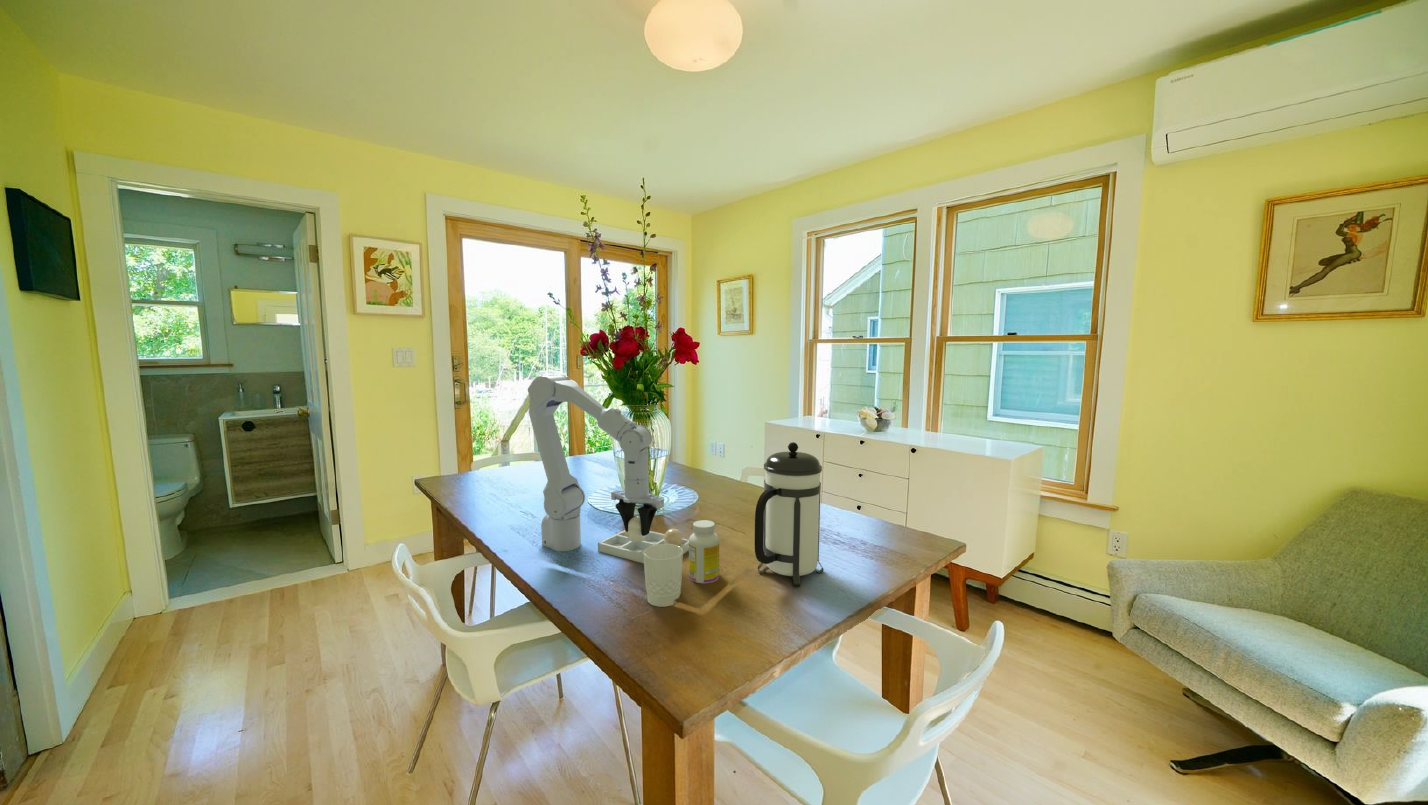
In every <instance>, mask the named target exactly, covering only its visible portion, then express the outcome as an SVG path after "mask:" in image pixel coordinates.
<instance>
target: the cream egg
mask: <svg viewBox="0 0 1428 805" xmlns="http://www.w3.org/2000/svg"><path fill="white" fill-rule="evenodd" d="M646 538H647V535H645V536H642V533H641V521H640V516H639V515H634V517H633V518H631V519H630V521H629V523H628V540H630V541H633V542H640V541H644V540H646Z"/></svg>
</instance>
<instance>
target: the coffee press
mask: <svg viewBox="0 0 1428 805" xmlns="http://www.w3.org/2000/svg"><path fill="white" fill-rule="evenodd" d="M787 449H788V451H781V452H776V453H773V454H771V455H769V456H768V457H767V459H766V461H765V463H764V464H763V470H764V471H765V474H764V476H765V479H764V481H763V482H764V483H763V484H764V485H763V486H764V488H763V490H764V491H762V493H761V495H760V496H759V497H758V500H757V502H756V504H755V505H756V506H755V512H754V554H755V555H754V556H755V557H756V560H757V561H758V562H759V564H758V566H757V571H758V573H759V574H765V572H766V571H768V570H770V571H772V572H774V573H776V574H778V575H782V576H787V577H791V582H792V587H798V588H799V587H800V586H801V583H800V582H801V581H800V576H806V575H809V574H811V573H813V572H814V571H816V573H818V574H822V573H824V568H823V566H822V564H821V563H820V558H819V557H820V554H819V553H820V552H819V551H820V524H821V523H820V522H821V519H820V518H821V489H822V486H821V484H822V482H821V473H822V472H823V466H822V465H821V463H820V460H819V459H818V458H817V457H816V456H814V455H812V454H809V453H806V452H803V451H802V452H801V451H798V449H799V445H798V444H797V443H796V442H794V441H792V442H790V443H789V444H788V446H787ZM818 564H819V565H820V567H821V569H820V570H819V569H817V567H818ZM763 565H765V567H764V568H763V569H762V570H760V569H761V567H763Z"/></svg>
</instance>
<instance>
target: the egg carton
mask: <svg viewBox="0 0 1428 805" xmlns="http://www.w3.org/2000/svg"><path fill="white" fill-rule="evenodd" d="M664 535H665V533H662V532H661V533H660V532H656V531H652V530H650V532H649V534H647V538H646V540H644V541H640V542H633V541H630V540H628V537H626V536H625V529H624V530H623V531H622V530H621V531H620V532H618V533H616V534H614V535H611V536H610V537H608V538H607V537H606V538H605V539H604V540H601V541H599V542H597V551H598V552H600V553H604V554H608V555H612V556H615V557H619V558H622V559H626V560H630V561H633V562H637V563H641V564H644V553H643V552H644V550H645V549H646V548H648V547H650V546H653V545H657V544H664ZM680 547H681V548H682V549H683V555H684V554H686V553H688V552H689V539H687V538H683V537H682V545H681V546H680Z"/></svg>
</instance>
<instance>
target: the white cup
mask: <svg viewBox="0 0 1428 805" xmlns="http://www.w3.org/2000/svg"><path fill="white" fill-rule="evenodd" d="M643 553H644V563H643V566H644V567H643V569H644V572H643V573H644V582H645V589H646V599H647V600H646V601H647V603H648V604H650V605H651V606H655V607H659V608H660V607H661V608H663V607H664V608H665V607H670V606H673V605H676V604H677V603H679V601H678V600H677V599H679V598H680V595H681V594H682V592H681V591H682V590H681V588H682V582H683V581H682V577H683V561H684V559H683V558H684V554H683V549H682V548H681V547H679V546H677V545H673V544H657V545H653V546H650V547H648V548H646V549H645V550H644V552H643Z"/></svg>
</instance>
